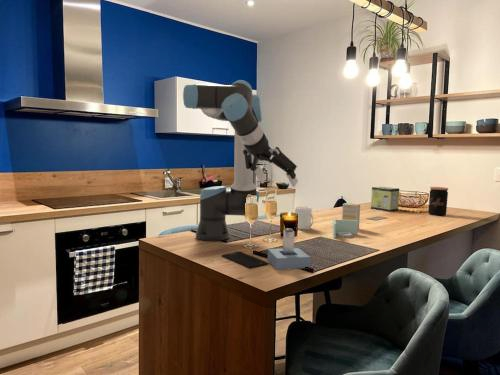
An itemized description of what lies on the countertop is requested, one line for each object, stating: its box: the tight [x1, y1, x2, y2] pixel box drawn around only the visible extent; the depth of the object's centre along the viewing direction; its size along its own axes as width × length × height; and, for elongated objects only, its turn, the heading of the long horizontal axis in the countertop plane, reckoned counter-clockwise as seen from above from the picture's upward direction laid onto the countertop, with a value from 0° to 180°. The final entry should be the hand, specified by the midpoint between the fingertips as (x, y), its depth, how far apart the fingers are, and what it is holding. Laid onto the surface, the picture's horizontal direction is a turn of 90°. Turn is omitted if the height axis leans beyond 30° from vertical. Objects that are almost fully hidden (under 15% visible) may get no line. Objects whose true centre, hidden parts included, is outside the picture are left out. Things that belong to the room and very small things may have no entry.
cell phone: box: [221, 251, 270, 270], centre depth 142 cm, size 9×18×1 cm, turn 38°
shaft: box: [282, 227, 295, 255], centre depth 139 cm, size 4×4×13 cm
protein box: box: [370, 186, 400, 213], centre depth 267 cm, size 10×16×16 cm
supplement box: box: [341, 202, 361, 230], centre depth 203 cm, size 8×5×13 cm, turn 57°
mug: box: [294, 206, 314, 230], centre depth 199 cm, size 9×12×11 cm
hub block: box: [267, 247, 311, 270], centre depth 139 cm, size 12×12×4 cm
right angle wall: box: [331, 218, 359, 239], centre depth 185 cm, size 12×12×8 cm
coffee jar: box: [428, 186, 449, 217], centre depth 251 cm, size 11×11×18 cm
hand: (279, 182), depth 136 cm, fingers open, 13 cm apart
